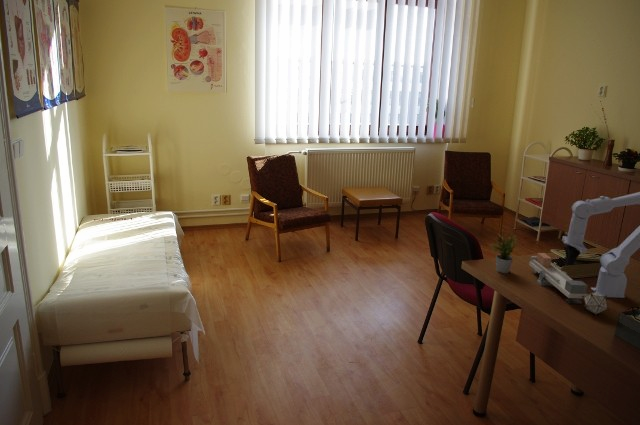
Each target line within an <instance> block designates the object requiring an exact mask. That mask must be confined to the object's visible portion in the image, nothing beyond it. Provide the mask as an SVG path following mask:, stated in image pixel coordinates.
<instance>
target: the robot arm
mask: <svg viewBox="0 0 640 425" xmlns="http://www.w3.org/2000/svg"><path fill="white" fill-rule="evenodd" d="M632 205H640V191H638V192H635V193H634V192H633V193H631V194H630V193H629V194H625V195H623V196H618V197H614V198H610V197H608V196H604V195H601V196H599V197H598V198H594V199H589V198H588V199H586V200H584V201H583V200H577V201H575V202H574V203H573V204H572V206H571V211H572V216H571V219H570V223H569V227H568V232H567V236H566V235H562V239H561V242H563V244H564V245H563V248H564V249H563V250H564V252H565V259H566V260H565V261H566V262H565V263H566V264H567V265H569V266H570V265H571V266H572V265H574V263H575V262H576V261H577V259H578V257H579V256H580V254H587V252H588V251H587V250H588V248H587V247H586V246H585V244H584V238H585V236H586V235H585V234H586V232H587V231H586V230H587V225H588V220H589V218H590V217H591V216H593V215H598V214H603V213H608V212H612V210H613V209H614V208H617V207H618V208H619V207H624V206H632ZM639 249H640V225H639V226H638V227H636V228H635V230H634V231H633V232H632V233H631V234H630V235H628V236H627V237H626V239H625V240H623V241H622V242H621V244H619V245H618V246H617V247H615V248H611V250H609V251H608V252H606V253H604V254H601V256H600V257H599V258H600V259H599V263H600V264H601V267H600V268H599V272H598V277H597V281H596V286H595V287H590V290H591V291H593V293H594V292H595V290H596V292H597V293H599V294H601V295H603V296H607V297H606V298H621V299H623V298H626V296H625V292H626V289H627V283H628V279H627V275H626V274H625V273H624V271H625V270H626V268H627V266H628V265H629V263H630V258H631V256H633V255H634V254H635V252H637V251H638V250H639Z"/></svg>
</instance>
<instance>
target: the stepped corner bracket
mask: <svg viewBox="0 0 640 425" xmlns="http://www.w3.org/2000/svg"><path fill="white" fill-rule="evenodd" d="M533 269H534V268H533ZM561 271H562V272H563V273H565V274H566V275H567V276H568V272H566V271H564V270H561ZM533 272H534V273H535V274H537V275H538V274H539V273H538V272H537V271H536V270H535V269H534V270H533ZM544 277H545V272H544V271H540V274H539V275H538V279H536V283H537V284H538V285H539V286H540V287H541V286H546V287H548V286H549V287H552V286H553V287H555V286H554V285H553V284H551V283H550V282H549V281H548V280H547V279H545V278H544ZM564 299H565V300H564V302H566V303H567V302H568V303H567V304H568V305H581V306H582V305H583V302H582V301H581V300H580V299H579V298H564Z"/></svg>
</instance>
